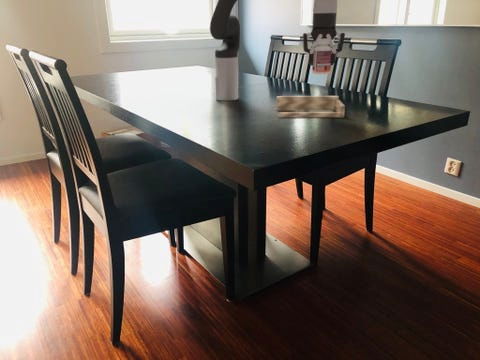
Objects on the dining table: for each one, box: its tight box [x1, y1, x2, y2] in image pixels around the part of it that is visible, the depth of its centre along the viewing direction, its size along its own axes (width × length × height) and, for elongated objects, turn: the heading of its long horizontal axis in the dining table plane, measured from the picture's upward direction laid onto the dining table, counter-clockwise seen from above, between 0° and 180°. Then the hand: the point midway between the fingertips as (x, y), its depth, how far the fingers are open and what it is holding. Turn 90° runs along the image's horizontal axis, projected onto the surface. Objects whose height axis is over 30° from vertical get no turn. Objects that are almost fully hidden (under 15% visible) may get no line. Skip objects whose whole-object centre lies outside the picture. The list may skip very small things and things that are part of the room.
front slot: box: [307, 110, 334, 112], centre depth 140 cm, size 9×9×1 cm
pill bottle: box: [311, 39, 332, 75], centre depth 132 cm, size 6×6×11 cm
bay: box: [275, 95, 346, 118], centre depth 139 cm, size 23×13×5 cm, turn 88°
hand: (321, 65), depth 134 cm, fingers closed on pill bottle, 6 cm apart
